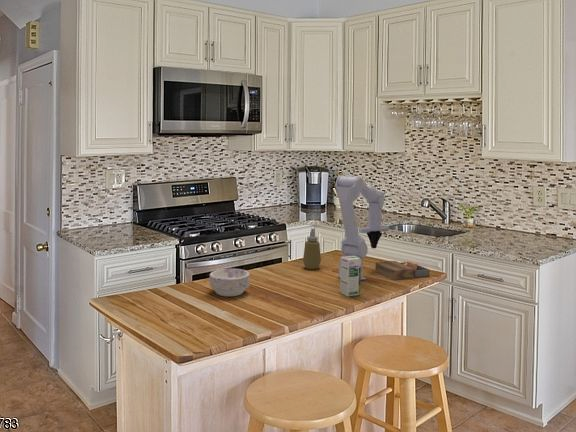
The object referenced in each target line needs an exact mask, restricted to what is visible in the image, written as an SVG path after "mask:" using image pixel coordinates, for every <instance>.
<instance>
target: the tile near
mask: <svg viewBox="0 0 576 432" xmlns="http://www.w3.org/2000/svg"><path fill="white" fill-rule="evenodd" d="M406 262H407V266H409V267H411V268H413V269H414V270H415V271H417V265H418V263H417V262H415V263H414V261H412V260H407V261H406Z"/></svg>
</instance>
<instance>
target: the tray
mask: <svg viewBox="0 0 576 432" xmlns="http://www.w3.org/2000/svg"><path fill="white" fill-rule="evenodd" d="M400 263H402V264H405V263H407V261H406V262H405V261H404V262H403V261H402V262H400ZM417 266H418V267H417V271H415V270H414V278H413V279H418V278H425V277H430V269H429V268H426V267H424V266H421V265H420V264H417Z"/></svg>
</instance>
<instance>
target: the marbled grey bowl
mask: <svg viewBox="0 0 576 432" xmlns="http://www.w3.org/2000/svg"><path fill="white" fill-rule="evenodd" d="M250 276H251V275H250V272H249V271H247V270H246V269H242V268H241V269H240V268H222V269H217V270H213V271H211V272H210V273H209V287H210V289H212V290H214V291H215V294H217V295H218V296H221V297H236V296H240V295H242V294H243V293H244V291H245V290H246V289H248V288H249V287H250V285H251V283H250V282H251V281H250V280H251V279H250Z"/></svg>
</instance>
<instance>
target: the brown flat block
mask: <svg viewBox="0 0 576 432" xmlns="http://www.w3.org/2000/svg"><path fill="white" fill-rule="evenodd" d="M375 273H378V274H380V275H382V276H384V277H386V278H388V279H390V280H392V281H397V280H406V279H415V278H414V269H413V268H411V267H409V266H406V265H404V264H402V263H401V262H399V261H397V260H390V261H379V262H378V261H377V262H375Z"/></svg>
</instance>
